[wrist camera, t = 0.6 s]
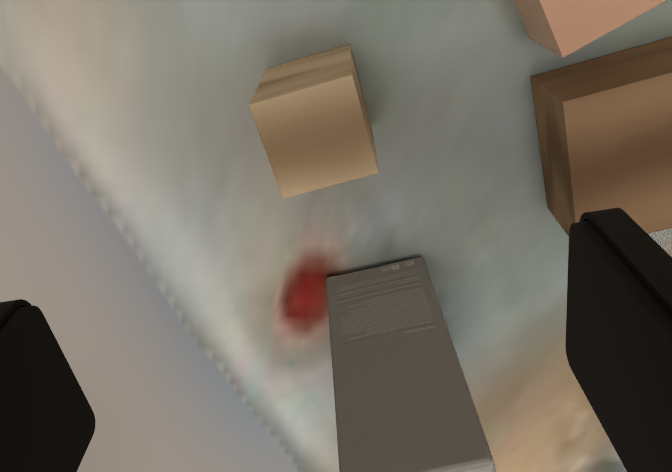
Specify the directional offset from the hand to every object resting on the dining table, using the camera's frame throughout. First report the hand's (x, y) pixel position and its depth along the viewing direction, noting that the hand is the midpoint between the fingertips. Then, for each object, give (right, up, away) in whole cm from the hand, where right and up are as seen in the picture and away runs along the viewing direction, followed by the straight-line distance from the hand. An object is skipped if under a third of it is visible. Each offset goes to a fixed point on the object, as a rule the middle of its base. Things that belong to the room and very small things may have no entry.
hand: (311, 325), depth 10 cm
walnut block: (+16, +8, +22) cm, 28 cm away
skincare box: (+4, -4, +28) cm, 28 cm away
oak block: (0, +9, +21) cm, 23 cm away
